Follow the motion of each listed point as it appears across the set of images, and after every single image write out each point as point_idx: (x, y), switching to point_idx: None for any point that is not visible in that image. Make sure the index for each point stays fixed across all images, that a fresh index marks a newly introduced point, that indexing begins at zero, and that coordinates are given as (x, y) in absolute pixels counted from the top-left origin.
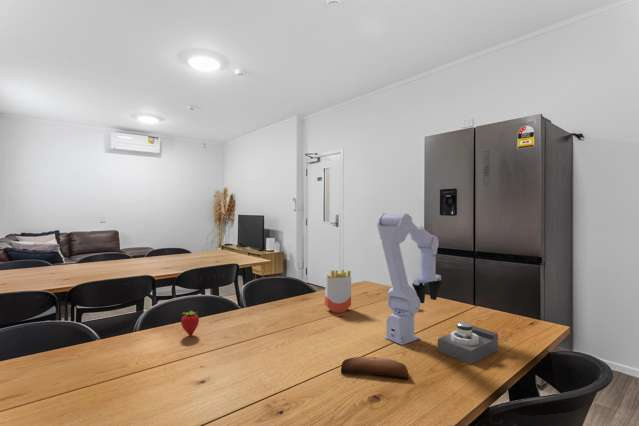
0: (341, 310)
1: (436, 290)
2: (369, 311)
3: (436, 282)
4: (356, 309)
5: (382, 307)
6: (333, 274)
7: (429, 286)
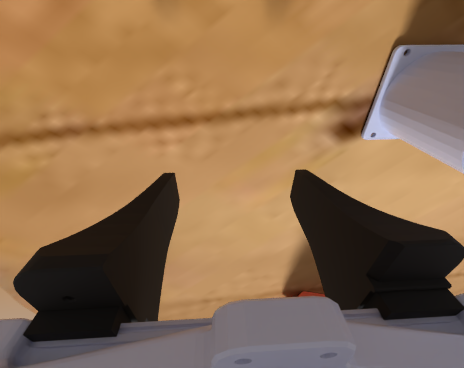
0: (311, 294)
1: (151, 214)
2: (261, 274)
3: (123, 291)
4: (273, 289)
5: (209, 279)
6: None
7: (161, 279)
